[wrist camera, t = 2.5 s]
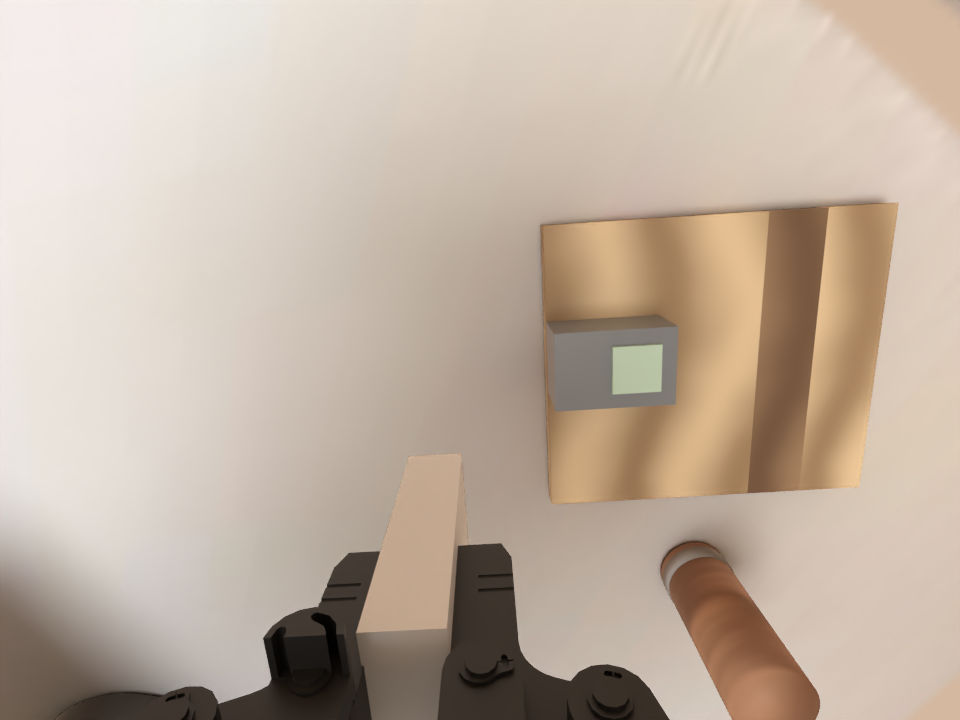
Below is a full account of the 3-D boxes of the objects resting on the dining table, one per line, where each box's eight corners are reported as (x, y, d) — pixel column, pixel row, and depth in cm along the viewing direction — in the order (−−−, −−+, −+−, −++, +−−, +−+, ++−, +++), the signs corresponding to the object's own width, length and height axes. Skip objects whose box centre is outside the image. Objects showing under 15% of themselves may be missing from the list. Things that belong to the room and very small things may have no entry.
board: (549, 493, 33) (551, 504, 32) (540, 225, 28) (543, 226, 27) (845, 476, 32) (858, 486, 31) (881, 203, 28) (898, 202, 27)
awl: (659, 598, 35) (728, 746, 25) (661, 543, 34) (734, 675, 24) (722, 594, 35) (816, 741, 25) (726, 539, 34) (825, 671, 24)
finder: (548, 392, 30) (556, 413, 27) (546, 321, 29) (554, 334, 26) (656, 385, 30) (676, 405, 27) (658, 314, 29) (679, 327, 26)
